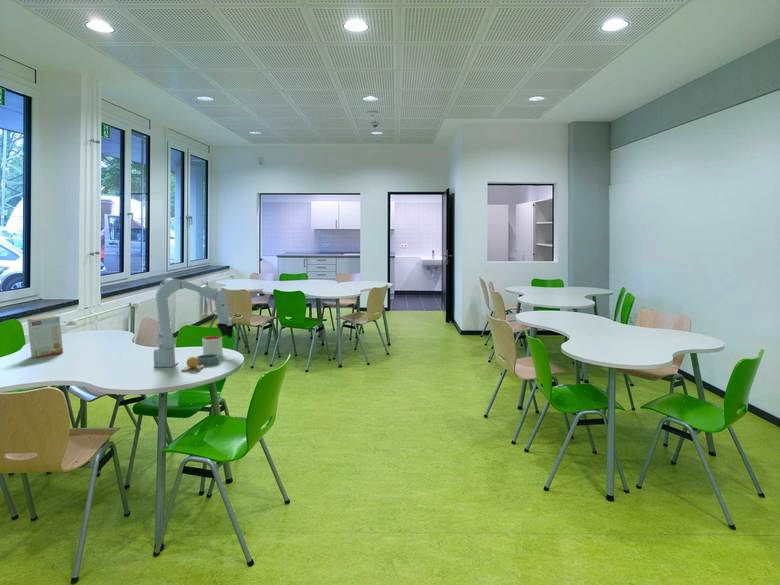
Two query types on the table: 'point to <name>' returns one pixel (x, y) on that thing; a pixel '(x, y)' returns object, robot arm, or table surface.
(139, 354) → the table surface
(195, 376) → the table surface
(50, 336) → the cracker box
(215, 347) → the cup
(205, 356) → the bowl
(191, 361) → the ball
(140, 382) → the table surface
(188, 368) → the pad
